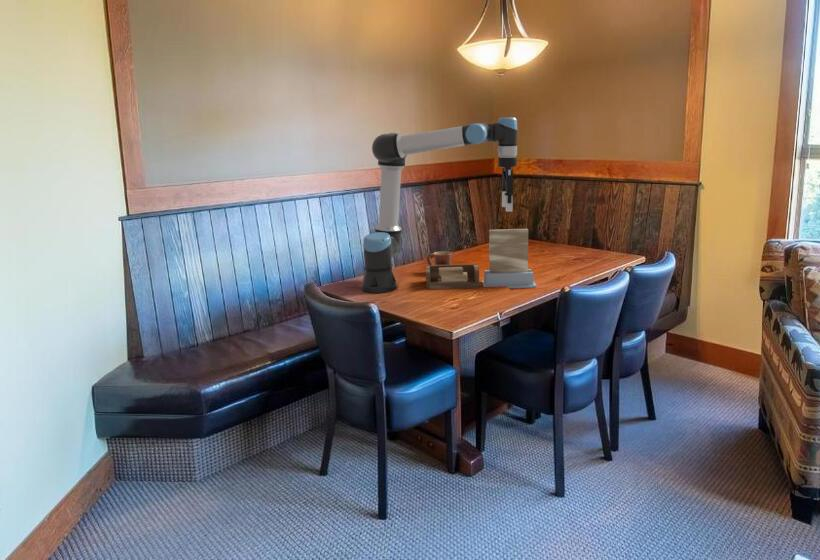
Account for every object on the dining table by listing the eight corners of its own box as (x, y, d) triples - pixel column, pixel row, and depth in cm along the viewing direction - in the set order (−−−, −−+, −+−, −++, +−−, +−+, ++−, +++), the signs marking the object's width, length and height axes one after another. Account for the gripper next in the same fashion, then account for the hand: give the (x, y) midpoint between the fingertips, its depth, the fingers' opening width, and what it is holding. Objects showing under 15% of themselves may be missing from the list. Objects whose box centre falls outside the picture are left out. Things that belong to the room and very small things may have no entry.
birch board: (489, 282, 263) (489, 229, 257) (526, 281, 262) (527, 228, 256) (489, 284, 261) (489, 230, 255) (527, 283, 260) (528, 229, 254)
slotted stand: (481, 282, 267) (481, 269, 265) (532, 281, 266) (532, 268, 264) (483, 288, 257) (483, 275, 256) (536, 287, 256) (536, 273, 255)
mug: (455, 273, 285) (454, 251, 283) (448, 277, 278) (447, 255, 275) (431, 271, 290) (431, 250, 288) (424, 276, 283) (423, 254, 280)
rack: (426, 282, 270) (426, 265, 268) (477, 281, 269) (476, 263, 267) (426, 291, 257) (426, 272, 255) (479, 290, 256) (479, 271, 254)
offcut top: (438, 273, 262) (438, 267, 261) (462, 272, 262) (462, 266, 261) (439, 275, 257) (439, 270, 256) (463, 275, 257) (463, 269, 256)
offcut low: (438, 284, 263) (438, 278, 263) (466, 283, 263) (466, 278, 262) (438, 287, 258) (438, 281, 258) (466, 286, 258) (466, 280, 257)
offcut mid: (441, 278, 262) (441, 272, 262) (466, 277, 262) (466, 272, 261) (441, 281, 258) (441, 275, 257) (467, 280, 257) (467, 275, 257)
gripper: (495, 155, 260) (495, 205, 266) (501, 158, 236) (501, 213, 242) (512, 154, 260) (512, 204, 265) (521, 158, 236) (520, 213, 241)
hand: (507, 209), depth 253 cm, fingers open, 13 cm apart
